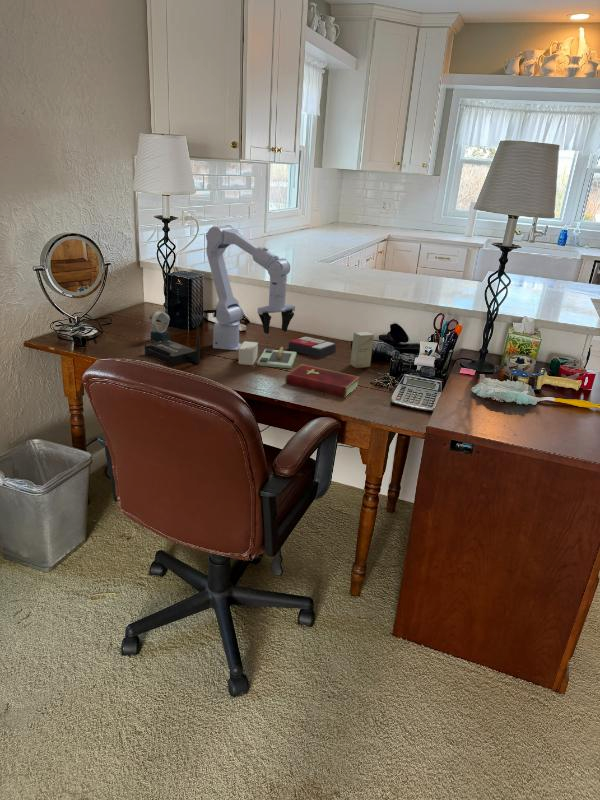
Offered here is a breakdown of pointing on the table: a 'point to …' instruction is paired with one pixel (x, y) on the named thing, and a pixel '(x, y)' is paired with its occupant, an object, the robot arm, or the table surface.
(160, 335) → the watch
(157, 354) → the grey and black stand
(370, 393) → the table surface
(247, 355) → the block
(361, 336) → the skincare box
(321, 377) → the hardcover book
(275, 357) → the pcb board
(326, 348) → the calculator
